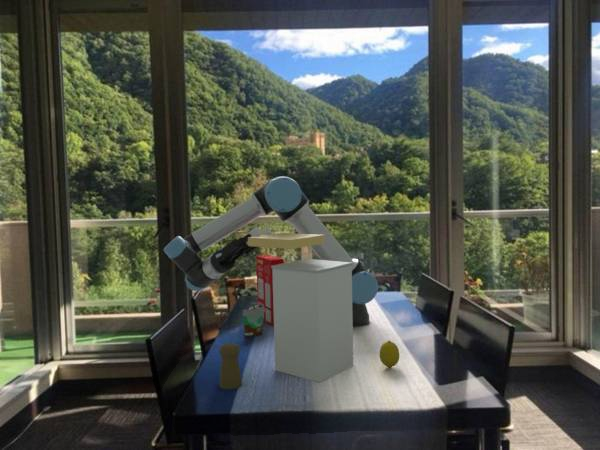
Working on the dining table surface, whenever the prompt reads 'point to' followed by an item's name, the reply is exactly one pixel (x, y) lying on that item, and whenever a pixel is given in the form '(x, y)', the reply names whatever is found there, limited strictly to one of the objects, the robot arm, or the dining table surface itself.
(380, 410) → the dining table surface
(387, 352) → the lemon
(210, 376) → the dining table surface
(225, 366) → the cork
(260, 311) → the food container
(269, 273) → the food packaging
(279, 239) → the paddle
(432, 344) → the dining table surface
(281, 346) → the tall white upright box
